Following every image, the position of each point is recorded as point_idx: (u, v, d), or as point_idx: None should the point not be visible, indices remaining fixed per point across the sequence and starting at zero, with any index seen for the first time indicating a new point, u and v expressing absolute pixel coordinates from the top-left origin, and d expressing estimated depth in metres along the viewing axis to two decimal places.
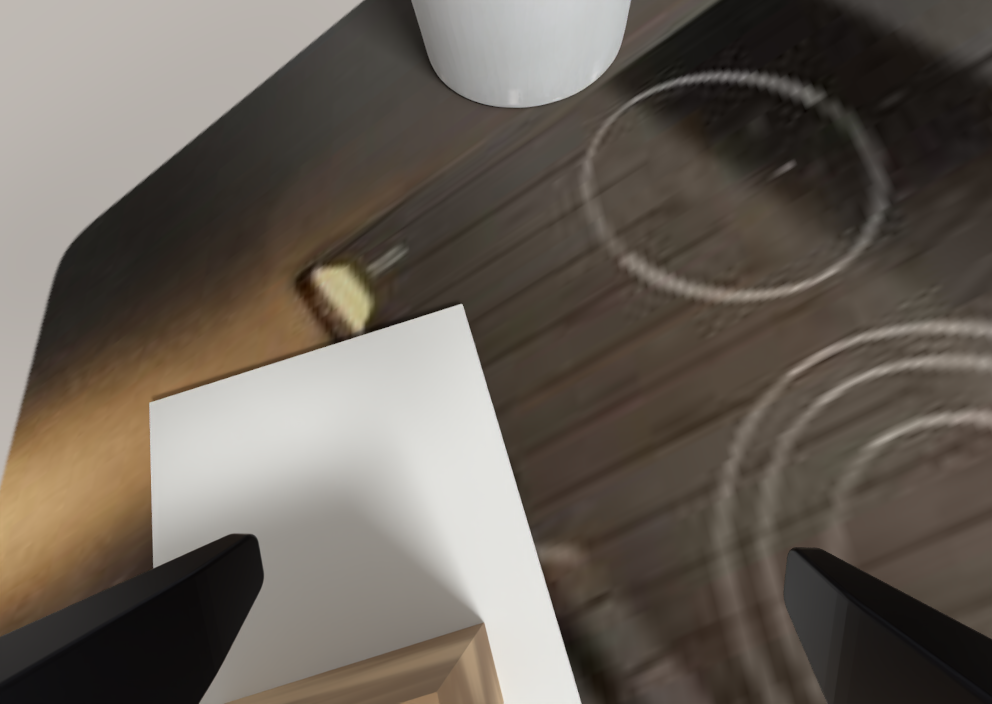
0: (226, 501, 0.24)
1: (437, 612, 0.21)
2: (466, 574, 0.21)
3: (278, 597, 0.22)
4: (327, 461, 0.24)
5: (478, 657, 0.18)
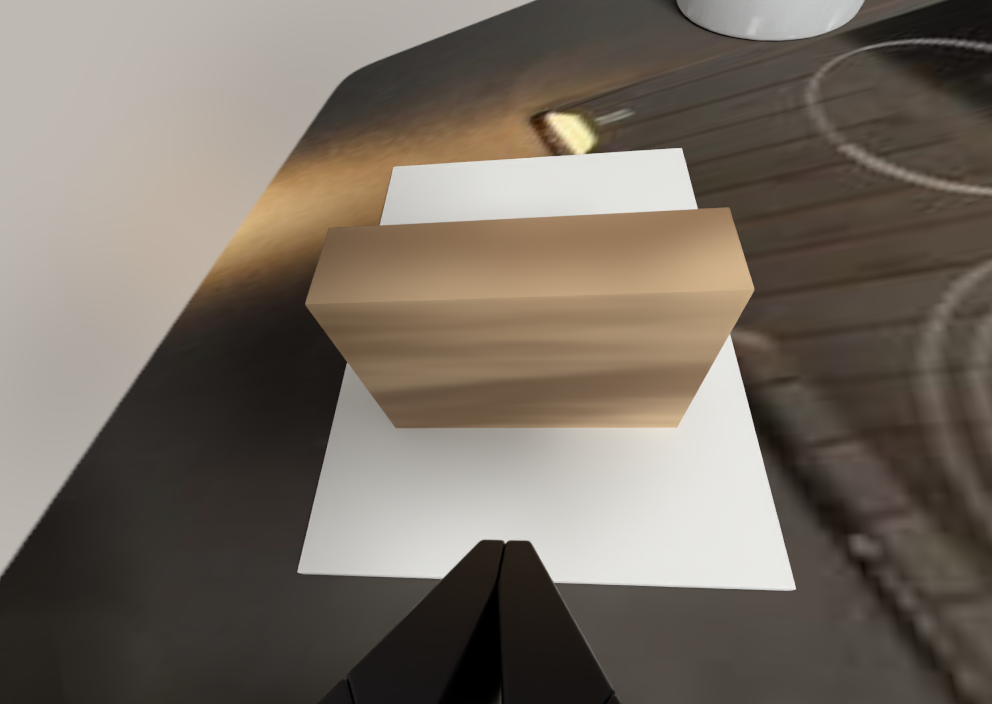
0: None
1: None
2: None
3: None
4: None
5: None
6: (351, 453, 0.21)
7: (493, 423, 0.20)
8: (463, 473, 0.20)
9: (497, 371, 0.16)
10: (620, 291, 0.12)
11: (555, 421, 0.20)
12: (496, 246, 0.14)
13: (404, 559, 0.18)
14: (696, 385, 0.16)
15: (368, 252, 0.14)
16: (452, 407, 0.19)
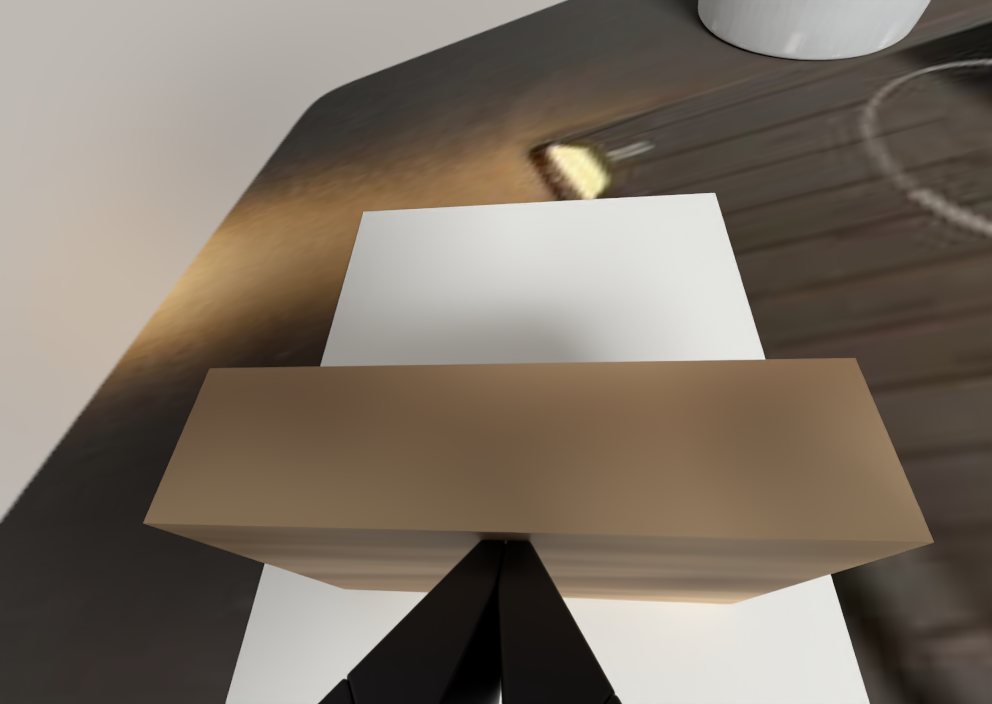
0: (418, 306, 0.21)
1: None
2: None
3: None
4: (538, 295, 0.21)
5: None
6: (282, 628, 0.15)
7: None
8: None
9: None
10: (684, 531, 0.07)
11: (561, 595, 0.14)
12: (468, 418, 0.08)
13: None
14: (775, 588, 0.11)
15: (262, 419, 0.09)
16: (417, 583, 0.13)
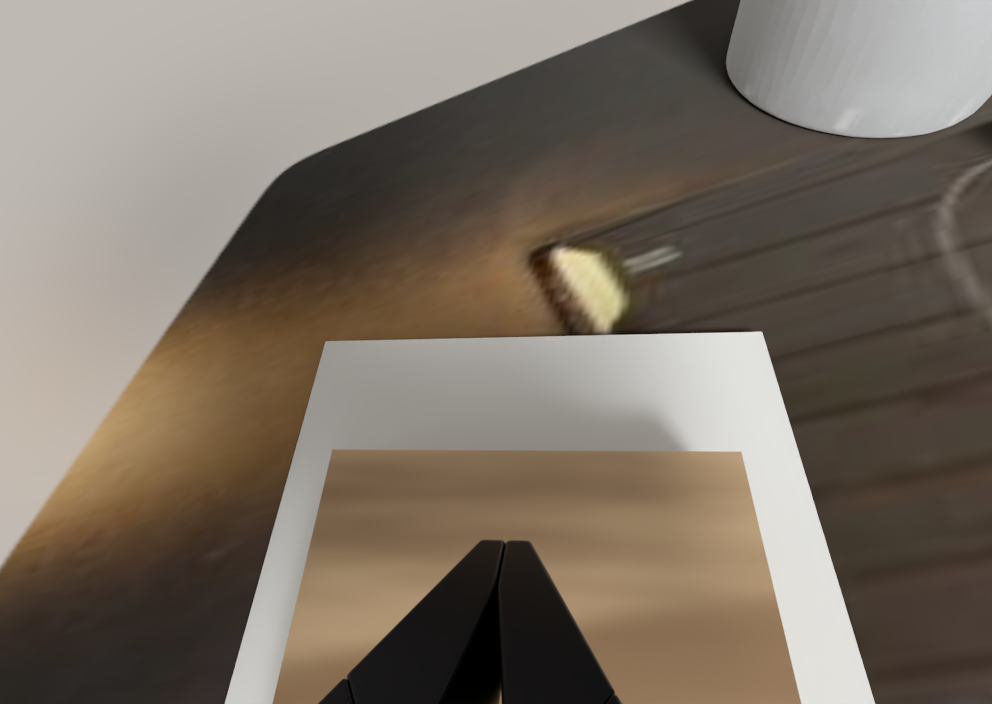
0: None
1: None
2: None
3: None
4: None
5: None
6: None
7: None
8: None
9: None
10: (620, 451, 0.14)
11: None
12: None
13: None
14: (788, 676, 0.11)
15: None
16: None
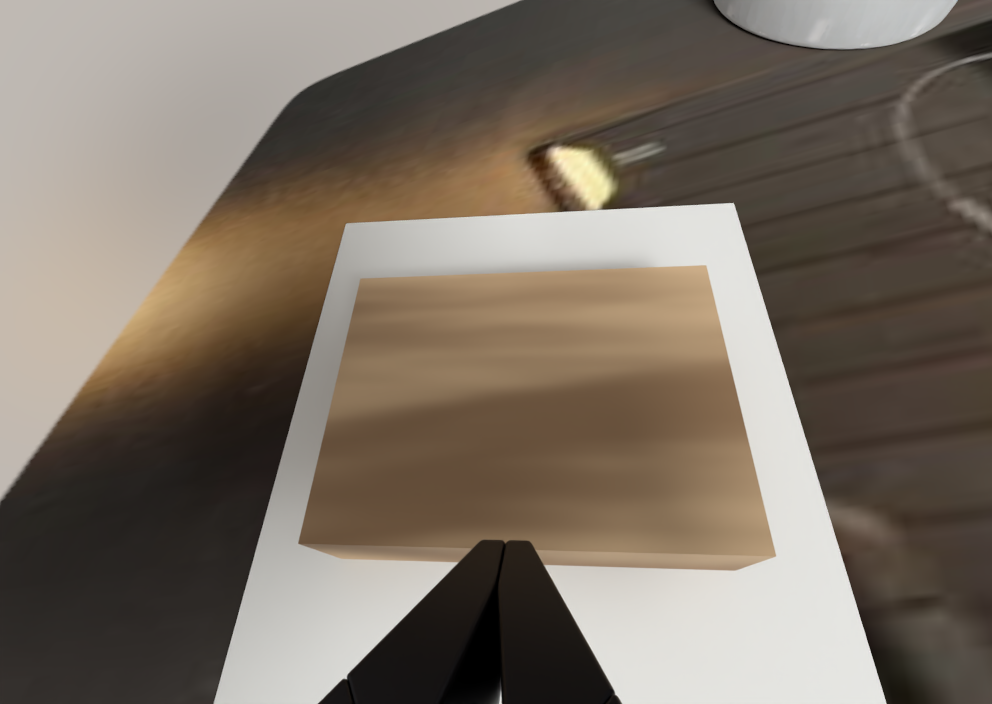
0: None
1: None
2: None
3: None
4: None
5: None
6: None
7: (462, 528, 0.12)
8: None
9: (493, 376, 0.15)
10: (605, 270, 0.16)
11: (563, 522, 0.12)
12: None
13: None
14: (735, 409, 0.13)
15: None
16: (416, 465, 0.13)
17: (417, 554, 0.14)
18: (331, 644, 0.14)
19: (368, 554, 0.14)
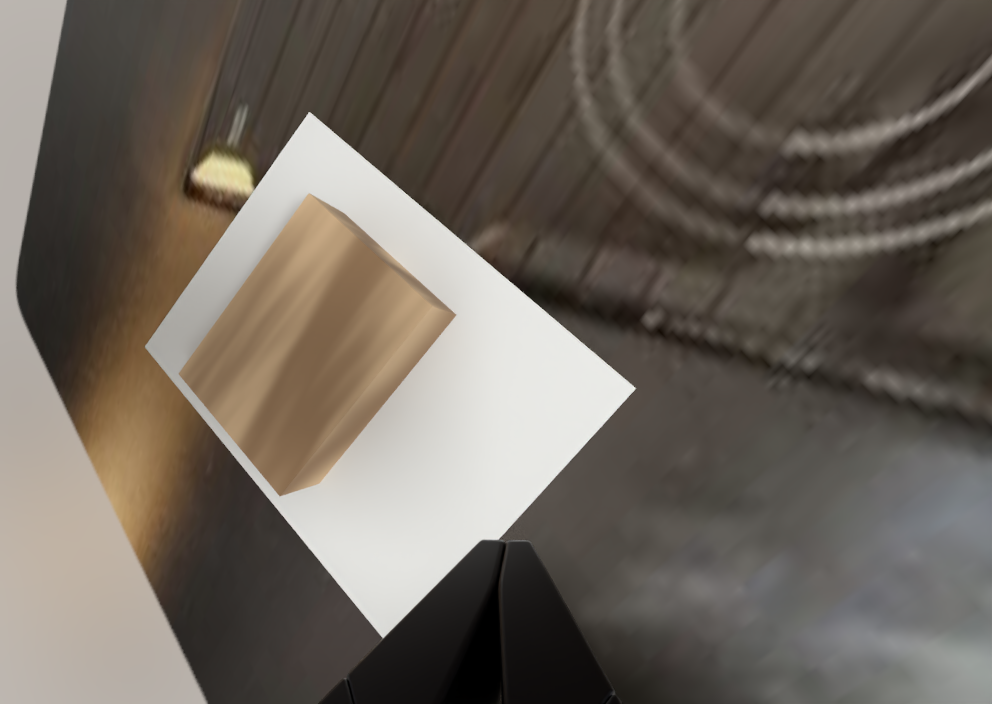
0: None
1: None
2: None
3: None
4: None
5: (411, 276, 0.24)
6: (349, 565, 0.25)
7: (326, 422, 0.23)
8: (417, 510, 0.24)
9: (277, 352, 0.24)
10: (272, 245, 0.24)
11: (356, 379, 0.22)
12: None
13: None
14: (375, 258, 0.22)
15: None
16: (288, 421, 0.23)
17: (332, 449, 0.24)
18: (348, 512, 0.25)
19: (319, 470, 0.25)
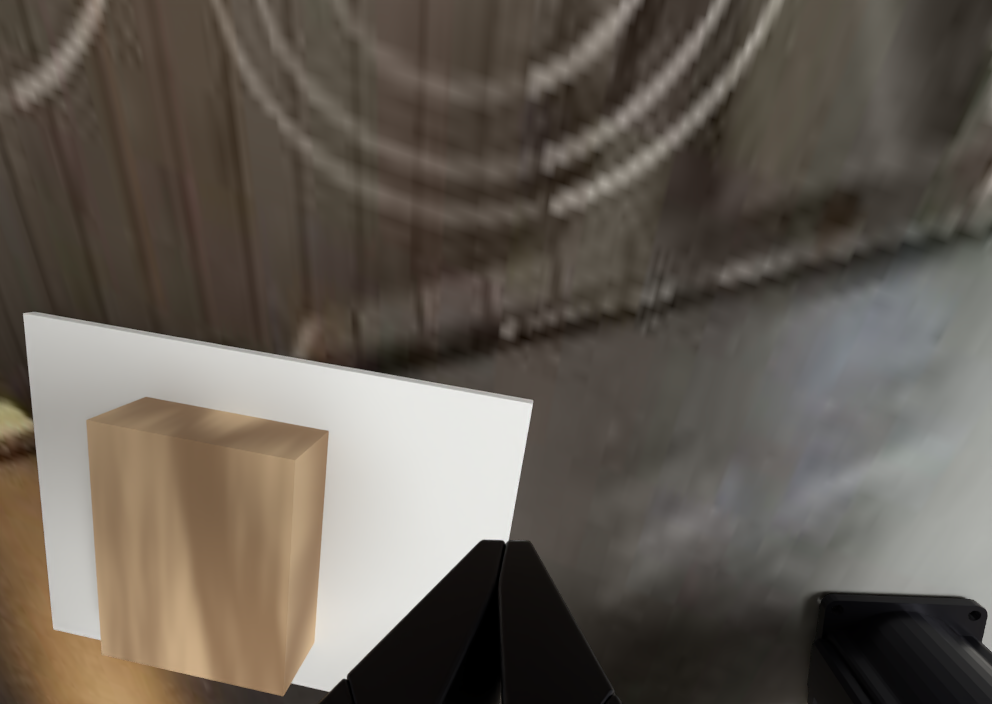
0: None
1: None
2: None
3: None
4: None
5: (259, 424, 0.21)
6: None
7: (276, 615, 0.21)
8: None
9: (181, 582, 0.21)
10: (92, 490, 0.20)
11: (274, 563, 0.20)
12: None
13: None
14: (205, 446, 0.19)
15: None
16: (240, 633, 0.21)
17: (302, 620, 0.22)
18: (357, 648, 0.24)
19: (304, 640, 0.23)
